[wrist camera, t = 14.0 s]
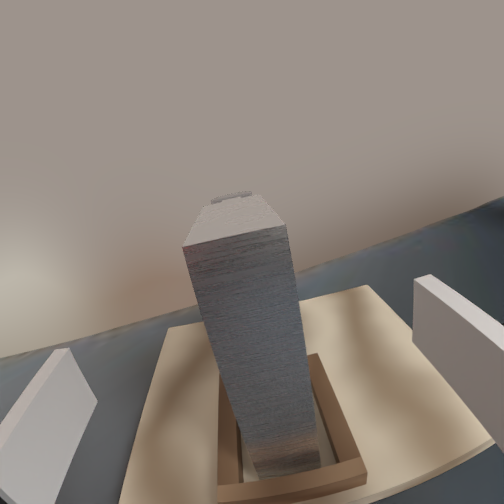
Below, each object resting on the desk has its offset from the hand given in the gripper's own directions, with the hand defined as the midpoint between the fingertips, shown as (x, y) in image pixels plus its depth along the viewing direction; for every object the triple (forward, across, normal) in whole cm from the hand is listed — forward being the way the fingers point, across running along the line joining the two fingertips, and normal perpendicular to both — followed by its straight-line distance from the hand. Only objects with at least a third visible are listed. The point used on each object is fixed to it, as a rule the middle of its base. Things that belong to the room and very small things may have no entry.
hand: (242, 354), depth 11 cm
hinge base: (+8, +2, -9) cm, 12 cm away
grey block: (+5, +1, -8) cm, 9 cm away
